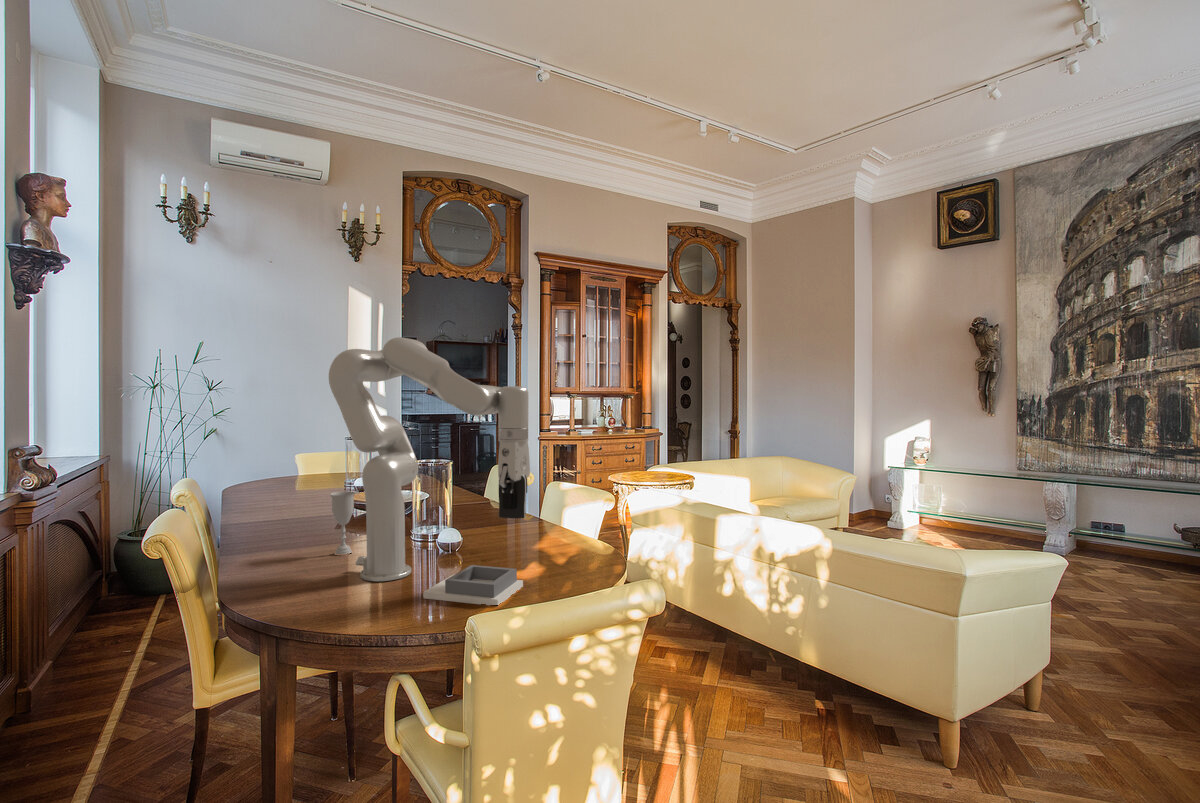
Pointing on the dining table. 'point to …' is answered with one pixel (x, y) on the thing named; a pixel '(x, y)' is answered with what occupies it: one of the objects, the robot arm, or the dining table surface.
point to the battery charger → (519, 500)
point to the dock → (477, 586)
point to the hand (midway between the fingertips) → (513, 506)
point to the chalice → (343, 515)
